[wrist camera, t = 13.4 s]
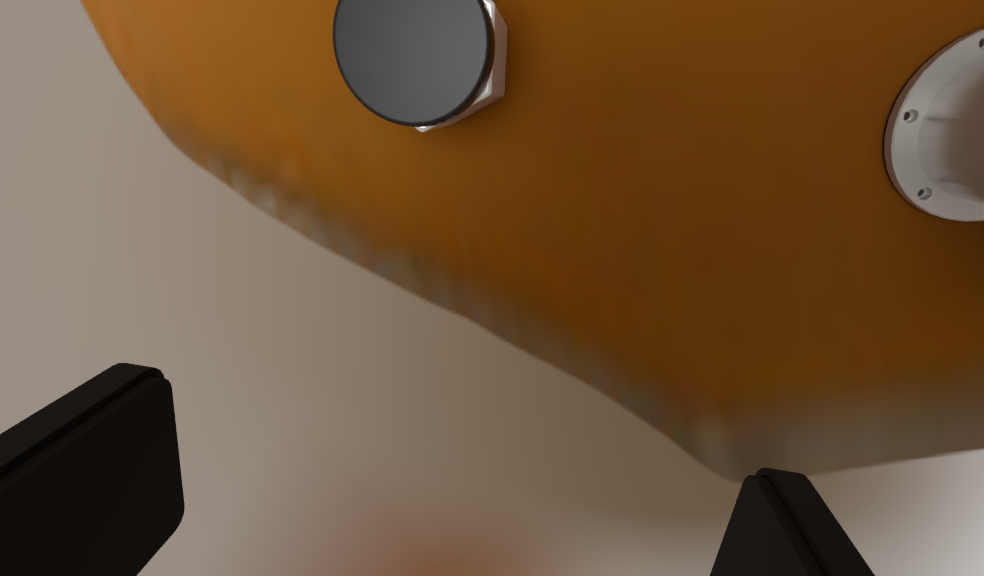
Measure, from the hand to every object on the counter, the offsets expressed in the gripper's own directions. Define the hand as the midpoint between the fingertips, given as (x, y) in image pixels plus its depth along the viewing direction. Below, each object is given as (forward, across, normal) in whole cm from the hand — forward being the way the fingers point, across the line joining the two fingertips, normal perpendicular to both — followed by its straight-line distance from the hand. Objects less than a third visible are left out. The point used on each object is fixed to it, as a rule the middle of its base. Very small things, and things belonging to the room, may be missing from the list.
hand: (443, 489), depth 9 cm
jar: (+34, +6, -8) cm, 35 cm away
